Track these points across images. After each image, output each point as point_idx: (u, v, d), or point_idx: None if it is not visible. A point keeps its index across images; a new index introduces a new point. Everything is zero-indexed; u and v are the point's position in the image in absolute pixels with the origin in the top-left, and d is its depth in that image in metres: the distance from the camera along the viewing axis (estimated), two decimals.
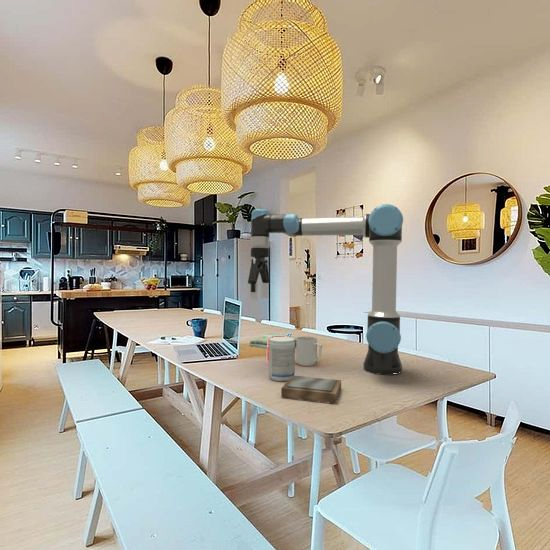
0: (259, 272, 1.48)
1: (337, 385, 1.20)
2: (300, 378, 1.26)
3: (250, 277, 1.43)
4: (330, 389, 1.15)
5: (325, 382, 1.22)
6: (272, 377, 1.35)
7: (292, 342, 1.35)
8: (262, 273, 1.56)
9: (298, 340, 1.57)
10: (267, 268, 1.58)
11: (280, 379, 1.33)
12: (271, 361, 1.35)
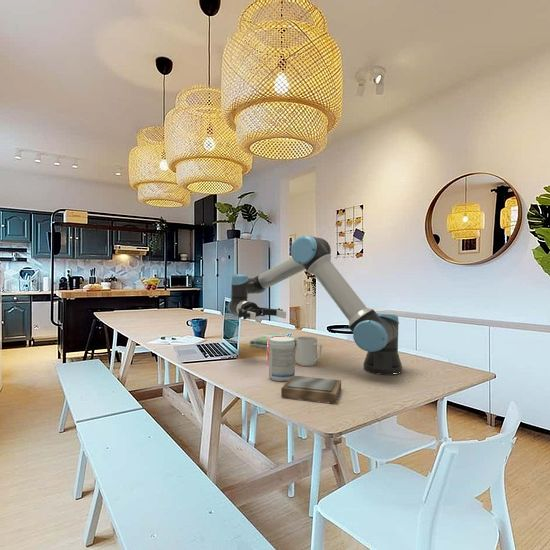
0: (249, 310, 1.54)
1: (337, 385, 1.20)
2: (300, 378, 1.26)
3: None
4: (330, 389, 1.15)
5: (325, 382, 1.22)
6: (272, 377, 1.35)
7: (292, 342, 1.35)
8: (267, 312, 1.57)
9: (298, 340, 1.57)
10: None
11: (280, 379, 1.33)
12: (271, 361, 1.35)
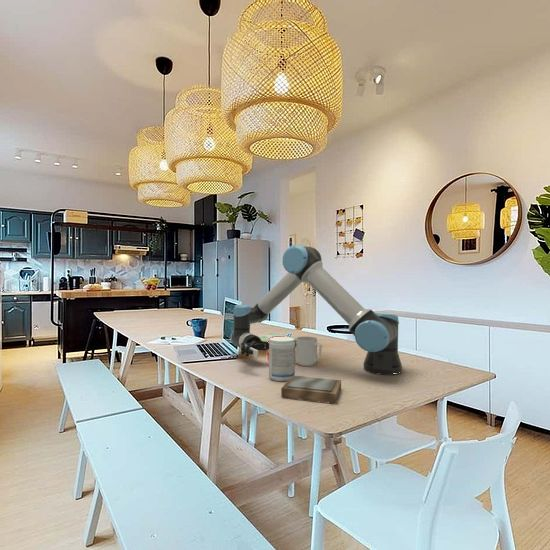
0: (252, 345, 1.50)
1: (337, 385, 1.20)
2: (300, 378, 1.26)
3: None
4: (330, 389, 1.15)
5: (325, 382, 1.22)
6: (272, 377, 1.35)
7: (292, 342, 1.35)
8: None
9: (298, 340, 1.57)
10: None
11: (280, 379, 1.33)
12: (271, 361, 1.35)
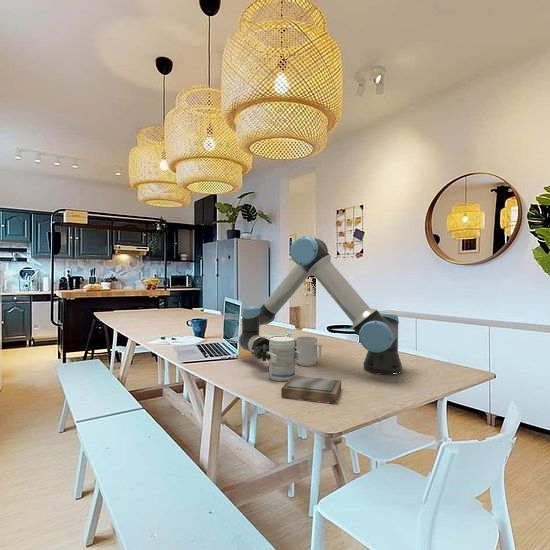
0: (265, 348, 1.43)
1: (337, 385, 1.20)
2: (300, 378, 1.26)
3: (257, 356, 1.38)
4: (330, 389, 1.15)
5: (325, 382, 1.22)
6: (272, 377, 1.35)
7: (292, 342, 1.35)
8: None
9: (298, 340, 1.57)
10: None
11: (280, 379, 1.33)
12: None
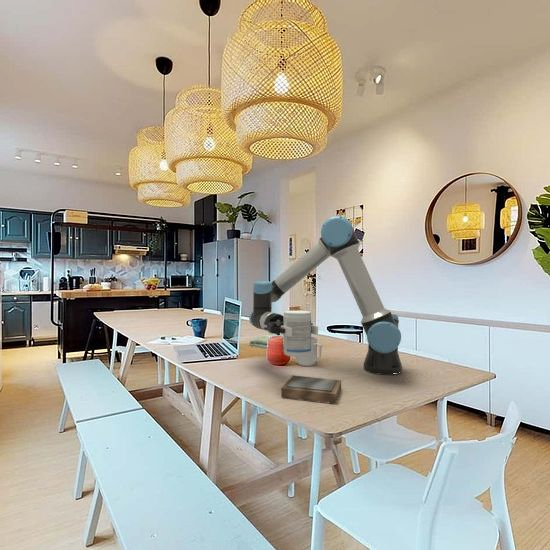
0: (279, 323, 1.32)
1: (337, 385, 1.20)
2: (300, 378, 1.26)
3: (270, 330, 1.27)
4: (330, 389, 1.15)
5: (325, 382, 1.22)
6: (287, 353, 1.24)
7: (308, 315, 1.24)
8: None
9: None
10: None
11: (296, 354, 1.22)
12: None
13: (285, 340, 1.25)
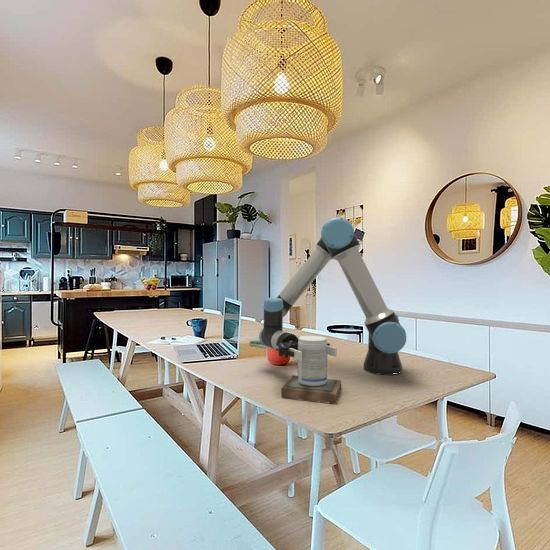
0: (290, 345, 1.26)
1: (337, 385, 1.20)
2: None
3: None
4: (330, 389, 1.15)
5: None
6: (302, 382, 1.18)
7: (325, 342, 1.19)
8: None
9: None
10: None
11: (312, 384, 1.17)
12: (301, 363, 1.19)
13: (300, 368, 1.19)
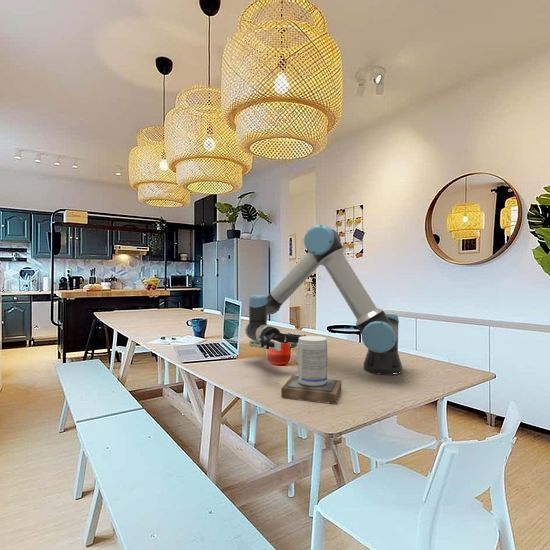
0: (272, 337, 1.38)
1: (337, 385, 1.20)
2: None
3: None
4: (330, 389, 1.15)
5: None
6: (302, 382, 1.18)
7: (325, 342, 1.19)
8: (291, 339, 1.41)
9: None
10: (294, 334, 1.45)
11: (312, 384, 1.17)
12: (301, 363, 1.19)
13: (300, 368, 1.19)
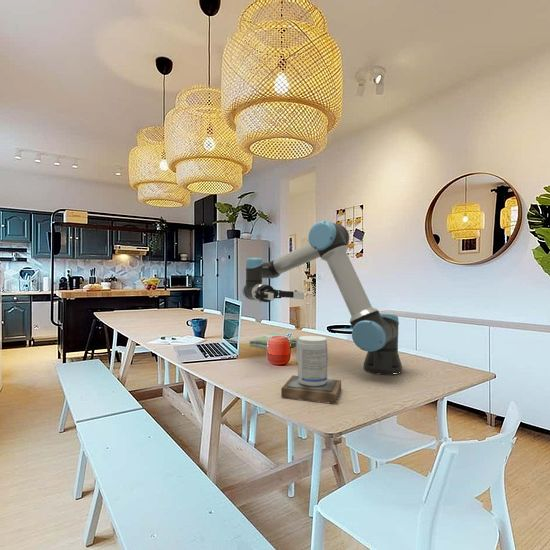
0: (266, 291, 1.52)
1: (337, 385, 1.20)
2: None
3: None
4: (330, 389, 1.15)
5: None
6: (302, 382, 1.18)
7: (325, 342, 1.19)
8: (283, 294, 1.55)
9: (298, 340, 1.57)
10: (286, 291, 1.58)
11: (312, 384, 1.17)
12: (301, 363, 1.19)
13: (300, 368, 1.19)
